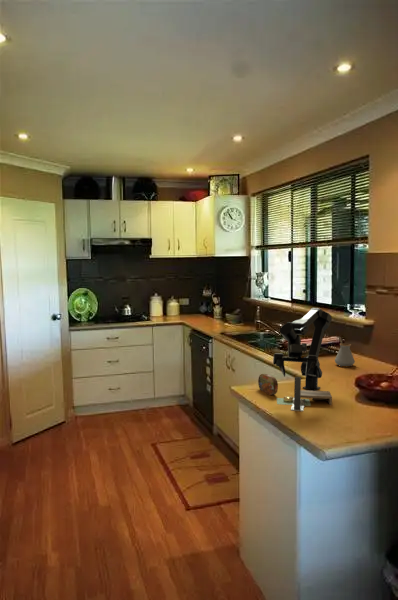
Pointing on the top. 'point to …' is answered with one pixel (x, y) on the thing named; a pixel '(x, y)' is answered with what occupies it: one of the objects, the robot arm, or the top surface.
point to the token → (288, 399)
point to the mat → (281, 401)
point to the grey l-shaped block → (297, 396)
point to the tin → (268, 384)
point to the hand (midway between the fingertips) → (295, 376)
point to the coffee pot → (344, 355)
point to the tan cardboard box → (317, 395)
